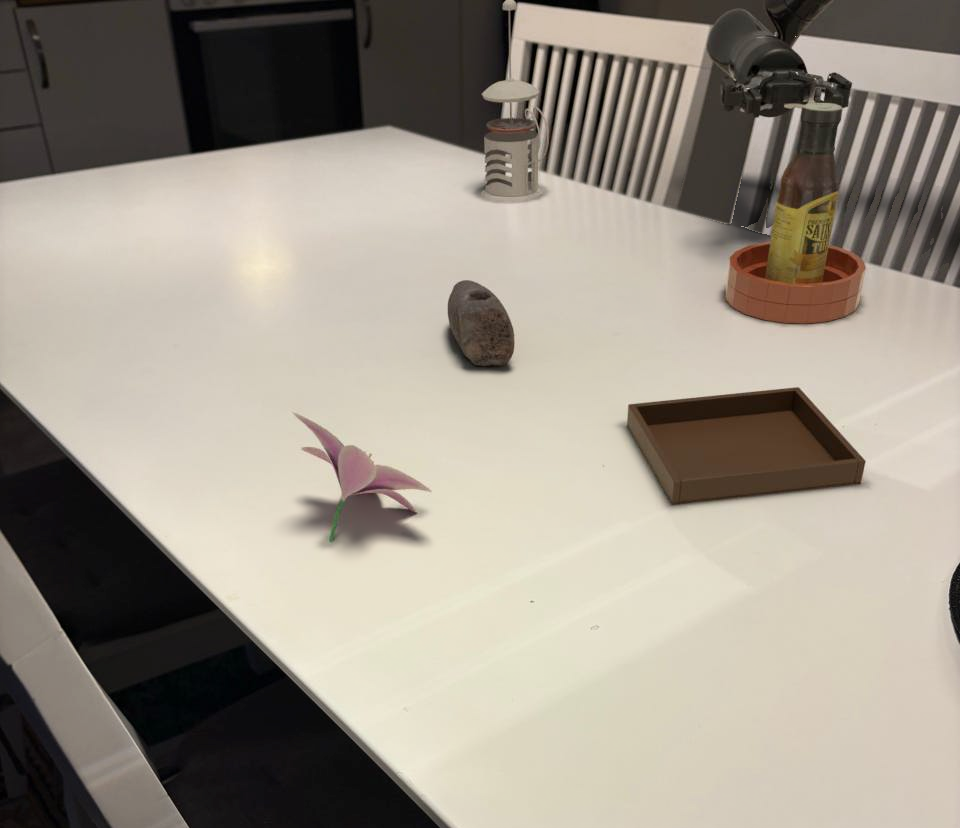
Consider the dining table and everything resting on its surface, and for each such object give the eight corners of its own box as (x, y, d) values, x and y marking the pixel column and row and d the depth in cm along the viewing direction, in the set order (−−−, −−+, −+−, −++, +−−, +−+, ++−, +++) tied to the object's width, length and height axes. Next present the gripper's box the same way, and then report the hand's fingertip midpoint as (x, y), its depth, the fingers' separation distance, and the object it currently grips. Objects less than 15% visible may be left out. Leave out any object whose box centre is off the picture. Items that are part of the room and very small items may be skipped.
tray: (794, 411, 97) (798, 386, 96) (860, 487, 86) (866, 460, 85) (626, 428, 96) (628, 404, 94) (671, 508, 85) (674, 481, 83)
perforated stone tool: (438, 326, 116) (434, 264, 112) (484, 320, 117) (482, 258, 113) (468, 381, 105) (465, 314, 100) (518, 375, 106) (518, 308, 101)
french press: (512, 181, 160) (510, -9, 144) (567, 195, 153) (571, -2, 137) (465, 195, 155) (457, 0, 139) (519, 211, 148) (517, 8, 132)
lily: (441, 568, 81) (464, 446, 79) (297, 552, 75) (318, 419, 73) (383, 540, 91) (402, 431, 89) (252, 523, 85) (270, 406, 84)
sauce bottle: (801, 313, 115) (833, 116, 102) (751, 300, 118) (777, 108, 106) (830, 296, 118) (864, 104, 106) (781, 284, 122) (809, 96, 109)
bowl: (825, 274, 125) (832, 236, 122) (879, 320, 113) (888, 279, 111) (708, 285, 123) (712, 246, 120) (751, 332, 112) (757, 291, 109)
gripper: (713, 42, 125) (735, 70, 113) (832, 39, 125) (868, 66, 112) (706, 111, 130) (727, 144, 118) (821, 107, 130) (854, 141, 117)
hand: (796, 106), depth 115 cm, fingers open, 8 cm apart
